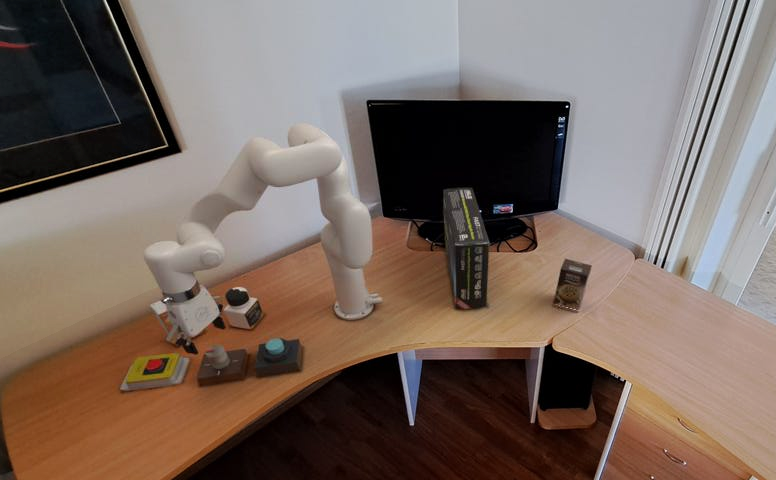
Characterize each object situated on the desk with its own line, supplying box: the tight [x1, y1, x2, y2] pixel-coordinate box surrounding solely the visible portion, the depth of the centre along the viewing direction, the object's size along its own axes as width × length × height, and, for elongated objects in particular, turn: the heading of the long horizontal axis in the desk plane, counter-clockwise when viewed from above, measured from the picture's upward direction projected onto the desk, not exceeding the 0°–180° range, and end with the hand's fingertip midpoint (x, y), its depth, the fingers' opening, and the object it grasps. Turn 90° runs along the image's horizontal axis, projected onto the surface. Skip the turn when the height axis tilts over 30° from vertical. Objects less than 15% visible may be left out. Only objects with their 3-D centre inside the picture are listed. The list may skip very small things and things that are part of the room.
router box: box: [442, 187, 491, 310], centre depth 152 cm, size 36×11×27 cm, turn 10°
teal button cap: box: [266, 338, 284, 355], centre depth 124 cm, size 4×4×2 cm
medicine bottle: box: [223, 286, 265, 330], centre depth 137 cm, size 7×7×12 cm
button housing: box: [254, 338, 303, 378], centre depth 126 cm, size 11×9×6 cm
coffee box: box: [552, 258, 593, 313], centre depth 146 cm, size 9×6×16 cm
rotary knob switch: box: [195, 348, 249, 386], centre depth 124 cm, size 11×9×3 cm
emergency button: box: [119, 352, 191, 392], centre depth 122 cm, size 9×4×15 cm
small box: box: [149, 299, 204, 347], centre depth 131 cm, size 8×6×13 cm
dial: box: [205, 344, 230, 369], centre depth 122 cm, size 4×4×5 cm
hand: (207, 339), depth 117 cm, fingers open, 9 cm apart
